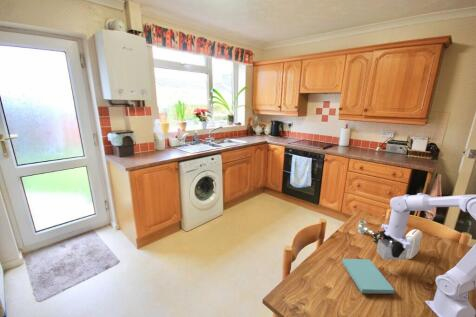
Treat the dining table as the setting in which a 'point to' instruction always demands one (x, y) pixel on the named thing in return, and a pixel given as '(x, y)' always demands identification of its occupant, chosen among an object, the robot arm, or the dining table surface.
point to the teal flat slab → (367, 276)
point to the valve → (368, 230)
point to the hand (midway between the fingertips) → (391, 252)
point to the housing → (389, 249)
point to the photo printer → (413, 242)
